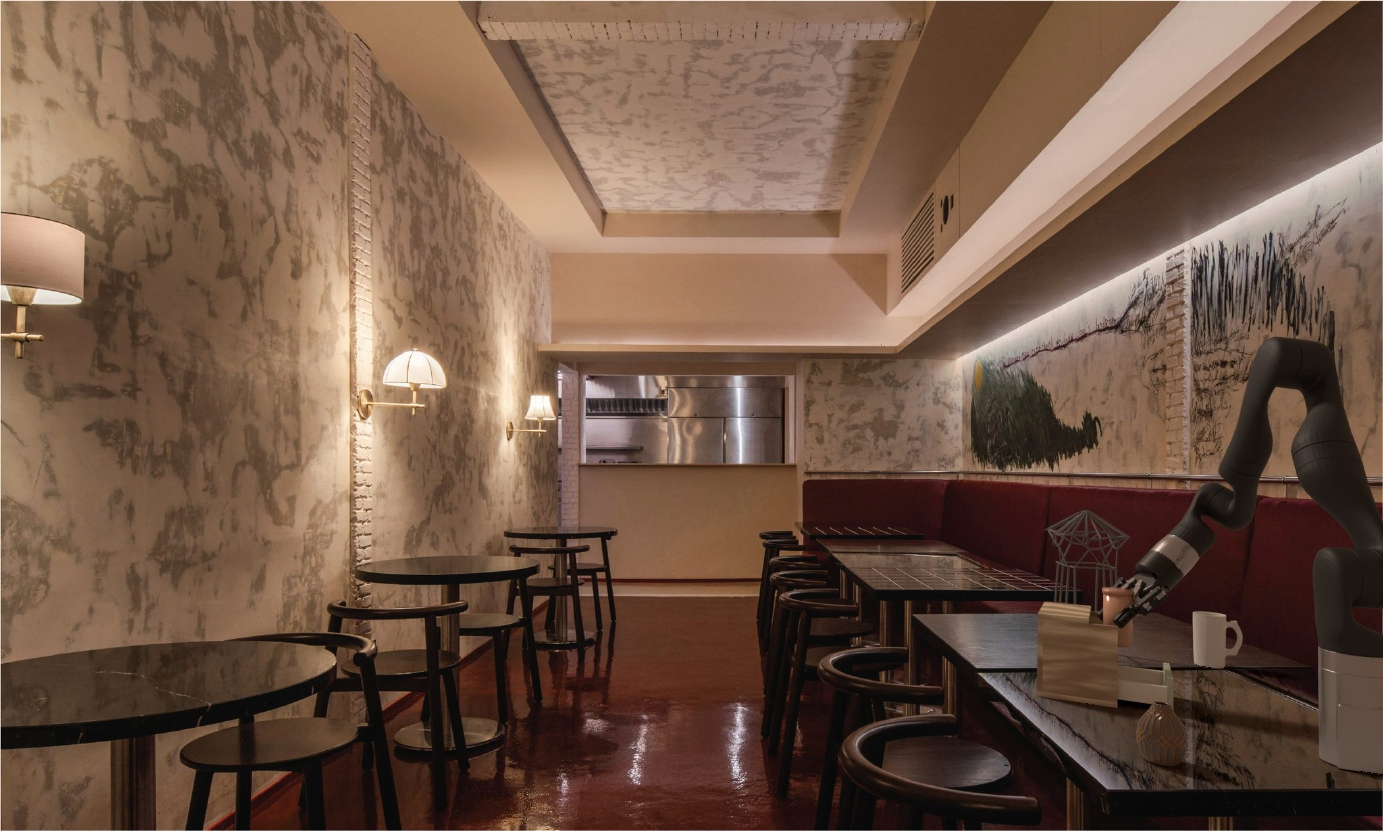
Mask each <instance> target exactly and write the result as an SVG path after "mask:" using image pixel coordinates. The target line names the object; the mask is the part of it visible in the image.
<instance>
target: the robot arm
mask: <svg viewBox="0 0 1383 831" xmlns="http://www.w3.org/2000/svg"><path fill="white" fill-rule="evenodd" d="M1276 388H1279V389H1280V388H1281V389H1286V390H1287V389H1289V390H1295V391H1297V390H1298V391H1299V392H1300V393H1301V395H1302V397H1303V399H1304V403H1305V409H1306V416H1305V418H1304V420H1303V422H1302V424H1301V425H1300V426H1299V428H1298V429H1297V432H1296V433H1295V435H1294V437H1293V439H1292V441H1291V446H1290V453H1291V455H1290V456H1291V458H1292V463H1293V466H1294V469H1295V473H1296V477H1297V479H1298V482H1299V485H1300V486H1301V488H1302V490H1303V491H1304V492H1305V493H1306V494H1307V495H1308V496H1309V497H1310V498H1311V499H1312V500H1313V501H1314V502H1315V503H1316V504H1317V505H1319V506H1320V508H1322V509H1323V510H1324V511H1325V512H1327V513H1328V514H1329V515H1330V516H1331V517H1332V518H1334V520H1336V522H1337V523H1338V524H1340V525H1341V527H1342V528H1343V529H1344V531H1345V532H1346V534H1347V535H1348V536H1349V539H1350V540H1351V542H1352V544H1353V547H1342V546H1340V547H1338V546H1327V547H1323V548H1321V549H1319V550H1318V551H1317V553H1316V554H1315V557H1314V558H1313V564H1312V590H1313V601H1314V621H1315V623H1314V624H1315V628H1316V633H1317V643H1318V647H1317V648H1318V650H1317V651H1318V654H1317V656H1318V658H1317V659H1318V662H1317V664H1318V666H1317V667H1318V670H1317V672H1318V673H1317V677H1318V678H1317V680H1318V682H1317V683H1318V684H1317V685H1318V690H1317V691H1318V745H1319V746H1318V757H1319V759H1321V760H1322V761H1324V762H1326V763H1328V764H1331V765H1333V766H1336V767H1337V768H1339V769H1343V770H1348V771H1356V772H1360V771H1363V772H1362V773H1367V772H1371V773H1370V774H1373V772H1374V773H1378V774H1377V775H1379V774H1383V633H1382V632H1379V631H1376V630H1374V629H1371V628H1368V627H1366V626H1364V625H1362V624H1360V623H1359V621H1356V619H1355V618H1354V614H1353V608H1361V609H1362V608H1363V609H1375V610H1377V609H1378V610H1383V519H1382V516H1381V514H1380V510H1379V509H1378V506H1377V503H1376V501H1375V498H1374V495H1373V493H1372V492H1373V491H1372V489H1371V486H1370V483H1369V480H1368V476H1367V474H1366V469H1365V465H1364V463H1363V460H1362V457H1361V454H1360V451H1359V448H1358V446H1357V443H1356V442H1357V441H1356V440H1355V437H1354V435H1353V432H1352V429H1351V426H1350V422H1349V419H1348V416H1347V412H1346V409H1345V406H1344V402H1343V398H1342V397H1343V396H1342V391H1341V387H1340V381H1339V376H1338V370H1337V365H1336V362H1335V358H1334V355H1333V353H1332V351H1331V349H1330V348H1329V347H1328V346H1327V345H1326V344H1325V343H1323V342H1320V341H1316V340H1309V339H1301V338H1294V337H1293V338H1292V337H1286V336H1272V337H1269V338H1267V339H1265V341H1263V343H1262V344H1261V345H1260V346H1259V347H1258V349H1257V351H1256V354H1255V355H1254V358H1253V361H1252V364H1251V367H1250V371H1249V375H1248V379H1247V382H1246V385H1245V390H1244V395H1243V398H1242V402H1241V406H1240V411H1239V414H1238V418H1237V423H1236V426H1235V429H1234V431H1233V435H1232V437H1231V440H1230V441H1229V444H1228V445H1227V448H1226V450H1225V452H1224V455H1223V456H1222V459H1221V462H1220V463H1219V466H1218V474H1219V476H1220V477H1221V478H1222V479H1223V480H1224V481H1225V482H1226V483H1228V484H1229V485H1230V487H1231V488H1232V489H1230V488H1228V487H1227V486H1225V485H1223V484H1221V483H1218V482H1207V483H1205V484H1202V485H1201V486H1200V487H1199V488H1198V490H1197V491H1196V492H1195V495H1194V496H1193V499H1192V501H1191V503H1190V506H1189V508H1188V509H1187V511H1186V512H1185V514H1184V516H1183V517H1182V518H1181V520H1180V521H1179V523H1178V524H1176V525H1175V527H1173V529H1172V530H1171V531H1170V532H1169V533H1167V535H1165V536H1164V537H1163V538H1161V539H1160V540H1159V541H1158V542H1156V543H1155V545H1154V546H1153V547H1152V548H1151V549H1150V550H1149V551H1148V552H1147V553H1145V555H1144V556H1143V557H1142V558H1141V559H1140V560H1139V561H1138V562H1137V563H1135V570H1136V574H1135V575H1133V576H1132V577H1131V578H1130V579H1127V580H1126V579H1125V578H1124V577H1123V576H1121V577H1118V581H1117V582H1116V583H1113V587H1114V588H1124V589H1130V590H1133V591H1134V592H1133V594H1132V596H1131V600H1130V602H1129V603H1128V605H1127V608H1124V609H1123V610H1122V611H1121V612H1120V613H1119V614H1118V615H1117V616H1116V617H1115V618H1114V619H1113V622H1114V623H1115V625H1116V626H1118V628H1121V629H1122V628H1124V627H1125V626H1126V625H1127V624H1128V623H1129V622H1130V621H1131V620H1132V619H1134V618H1135V617H1139V616H1140V615H1142V616H1143V617H1146V616H1147V615H1149V614H1150V613H1151V612H1152V611H1153V610H1155V609H1156V608H1158V607H1159V606H1161V604H1163V603H1164V602H1165V601H1166V600H1167V599H1168V598H1169V595H1168V594H1167V593H1168V592H1171V590H1172V589H1173V588H1174V587H1175V586H1176V585H1177V584H1178V583H1179V582H1180V581H1181V580H1182V579H1183V578H1184V577H1185V576H1186V575H1187V574H1188V573H1189V572H1190V571H1191V570H1192V569H1193V568H1194V567H1195V565H1196V564H1197V562H1198V560H1200V558H1202V557H1203V556H1204V554H1206V553H1207V551H1209V550H1210V548H1211V547H1212V546H1213V545H1214V544H1215V542H1216V540H1217V535H1216V533H1215V532H1214V531H1213V529H1212V528H1211V527H1210V526H1209V525H1208V524H1207V523H1206V522H1205V521H1203V518H1204V517H1207V518H1208V519H1210V520H1211V521H1214V522H1215V523H1217V524H1218V525H1220V526H1222V527H1224V528H1226V529H1228V530H1231V531H1240V530H1243V529H1245V528H1246V527H1248V525H1249V524H1250V523H1251V522H1252V521H1253V518H1254V516H1255V513H1256V508H1257V495H1258V488H1259V484H1260V479H1261V476H1262V474H1263V473H1264V471H1265V469H1266V466H1267V464H1268V462H1269V460H1270V458H1271V456H1272V454H1273V446H1274V437H1273V432H1272V427H1271V424H1270V420H1269V411H1268V408H1269V402H1270V399H1271V396H1272V394H1273V392H1275V389H1276ZM1098 612H1099V613H1098V614H1097V617H1098V618H1099V619H1100V620H1101V621H1102V622H1103V608H1101V609H1100V610H1099V611H1098ZM1364 771H1365V772H1364Z"/></svg>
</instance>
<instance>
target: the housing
mask: <svg viewBox="0 0 1383 831" xmlns="http://www.w3.org/2000/svg"><path fill="white" fill-rule="evenodd" d="M1099 612H1100V611H1097V612H1096V611H1095V610H1094V611H1093V610H1092V606H1091V605H1083V604H1082V605H1081V604H1076V605H1074V603H1068V604H1065V602H1061V603H1059V602H1056V603H1054V601H1053V602H1052V601H1044V602H1043V603H1042V606H1041V607H1040V608H1039V611H1038V612H1037V641H1036V642H1037V645H1036V646H1037V650H1036V651H1037V653H1036V654H1037V655H1036V658H1037V659H1036V661H1037V662H1036V666H1037V667H1036V697H1039V698H1046V699H1053V700H1059V701H1060V700H1061V701H1066V702H1073V701H1074V703H1079V702H1080V703H1081V704H1086V703H1088V704H1087V705H1093V704H1094V705H1095V706H1100V707H1101V706H1102V707H1109V708H1116V709H1118V699H1117V680H1118V666H1119V665H1118V662H1119V661H1118V660H1119V658H1118V657H1119V656H1118V653H1119V652H1118V651H1119V650H1118V649H1119V647H1118V626H1112V625H1103V622H1102V621H1101V620H1100V619H1099V618H1098V617H1097V614H1098V613H1099Z"/></svg>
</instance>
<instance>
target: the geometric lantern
mask: <svg viewBox="0 0 1383 831" xmlns="http://www.w3.org/2000/svg"><path fill="white" fill-rule="evenodd" d="M1083 521H1084V530H1078V529H1079V527H1080V525H1081V524H1082V522H1083ZM1089 521H1090V522H1091V524H1092V526H1093V528H1094V530H1091V531H1089ZM1095 522H1096V523H1095ZM1096 524H1097V525H1096ZM1098 525H1099V527H1100V528H1101V529H1102V530H1100V529H1099V528H1098ZM1061 526H1062V527H1061ZM1059 527H1060V528H1059ZM1057 528H1059V529H1057ZM1071 530H1072V531H1071ZM1043 531H1045V532H1046V531H1047V532H1048V533H1049V535H1050V537H1051V539H1052V546H1055V547H1058V557H1059V561H1057V560H1056V561H1055V563H1056V572H1055V574H1056V575H1055V589H1054V598H1053V599H1054V600H1053V602H1054V603H1062V597H1063V589H1064V588H1063V587H1064V577H1065V576H1064V575H1065V574H1064V573H1065V567H1066V568H1067V570H1066V584H1065V586H1066V587H1065V599H1064V600H1065V602H1064V604H1069V603H1068V601H1069V591H1070V590H1069V586H1070V570H1071V569H1073V604H1074V605H1077V569H1087V570H1089V569H1090V570H1095V590H1094V591H1095V595H1094V596H1095V597H1094V611H1096V612H1098V596H1099V594H1098V593H1099V592H1098V591H1099V570H1102V588H1104V587H1107V585H1106V584H1107V583H1106V570H1107V571H1109V582H1110V585H1109V586H1110V587H1113V586H1114V584H1115V583H1116V582H1117V581H1118V579H1119V577H1118V576H1119V575H1118V554H1119V550H1120V549H1121V548H1122V547H1123V546H1124V545H1125V544H1126V542H1127V541H1128V540H1130V538H1131V536H1130V535H1128V534H1127V533H1125V532H1123V531H1122V530H1120V529H1119V528H1118V527H1116V526H1115V525H1112V524H1111V523H1110V522H1108V521H1107V520H1105V519H1103V518H1102V517H1100V516H1099V515H1097V514H1096V513H1094V512H1092V511H1091V510H1084V509H1083V510H1080V511H1079V512H1076V513H1074V514H1072V515H1070V516H1069V517H1066V518H1065V519H1064V518H1063V520H1060V521H1058V522H1057V523H1055V524H1052V525H1050V526H1049V527H1047V528H1045V529H1043ZM1115 532H1116V533H1117V534H1118V535H1117V534H1116V533H1115ZM1090 534H1095V535H1093V537H1089V535H1090ZM1101 534H1106V535H1107V536H1106V537H1105V536H1104V537H1102V535H1101ZM1067 536H1068V537H1071V538H1070V539H1069V538H1068V537H1067ZM1058 537H1060V541H1059V543H1058ZM1078 537H1080V538H1082V540H1081V539H1080V538H1078ZM1097 537H1098V538H1097ZM1073 538H1074V539H1075V540H1077V542H1075V541H1073V540H1074V539H1073ZM1064 540H1066V541H1067V542H1069V544H1068V546H1067V548H1066V550H1065V552H1063V550H1062V547H1061V546H1062V544H1063V542H1064ZM1085 540H1086V541H1085ZM1104 540H1109V542H1110V543H1107V544H1106V545H1104V546H1102V541H1104ZM1092 541H1097V542H1099V544H1098V545H1099V547H1090V544H1089V543H1091V542H1092ZM1121 541H1122V542H1121ZM1120 542H1121V543H1120ZM1116 543H1117V546H1116ZM1072 545H1076V546H1077V545H1078V546H1083V547H1085V548H1086V549H1087V550H1086V552H1085V553H1084V554H1083V556H1081V558H1080V559H1079V561H1067V558H1066V556H1067V554H1068V553H1069V550H1070V549H1071V547H1072ZM1107 548H1109V550H1108V551H1107V553H1106V554H1105V552H1104V549H1107ZM1113 549H1114V550H1115V551H1116V552H1115V553H1116V555H1115V566H1111V564H1110V563H1109V560H1108V559H1109V555H1110V554H1111V552H1112V550H1113ZM1093 551H1101V554H1102V556H1103V560H1102V563H1101V562H1100V561H1099V560H1098V558H1097V557H1096V555H1095V554H1094V552H1093ZM1089 552H1090V553H1091V555H1092V556H1093V558H1094V559H1095V560H1096V562H1093V561H1092V562H1091V561H1082V560H1083V559H1084V557H1086V555H1087V554H1088V553H1089ZM1061 557H1062V558H1061ZM1105 563H1106V564H1105ZM1069 564H1075V565H1069ZM1079 564H1082V565H1083V564H1089V565H1095V566H1091V567H1090V566H1080V565H1079ZM1060 565H1061V574H1060V572H1059V571H1060ZM1078 565H1079V566H1078ZM1099 566H1101V567H1099ZM1070 568H1071V569H1070ZM1113 571H1114V578H1113ZM1059 574H1060V585H1059ZM1113 579H1114V580H1115V583H1114V581H1113ZM1058 586H1059V588H1058ZM1058 589H1059V597H1058ZM1058 598H1059V599H1058ZM1057 599H1058V602H1057Z"/></svg>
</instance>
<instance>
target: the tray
mask: <svg viewBox="0 0 1383 831" xmlns="http://www.w3.org/2000/svg"><path fill="white" fill-rule="evenodd" d="M1117 700H1122V701H1129V702H1136V703H1143V704H1149V705H1152V703H1153V702H1155V701H1160V702H1166V703H1169V704H1170V705H1171V707H1172V709H1173V710H1174V676H1173V673H1172V669H1171V666H1170V663H1169V662H1162V670H1157V669H1151V668H1150V669H1148V668H1140V667H1134V666H1124V665H1118V680H1117Z"/></svg>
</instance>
